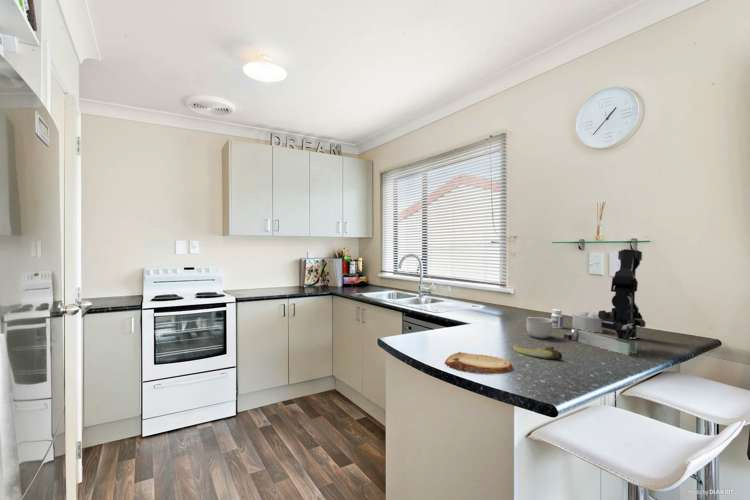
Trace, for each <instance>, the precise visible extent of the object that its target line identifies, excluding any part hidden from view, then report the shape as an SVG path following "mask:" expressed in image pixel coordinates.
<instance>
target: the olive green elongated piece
mask: <svg viewBox="0 0 750 500" xmlns="http://www.w3.org/2000/svg"><path fill="white" fill-rule="evenodd" d="M512 349H513V351H514V352H517V353H518V354H522V355H525V356H529V357H533V358H539V359H545V360H547V359H548V360H562V358H563V354H562V353H561V352H560V351H558V350H556V349H555V347H554V346H551V345H550V346H547V347H543V348H540V349H538V348H537V349H532V348H531V349H530V348H529V349H528V348H524V347H521V346H519V343H516V344H514V345H513V346H512Z"/></svg>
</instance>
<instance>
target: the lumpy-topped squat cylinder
mask: <svg viewBox="0 0 750 500" xmlns="http://www.w3.org/2000/svg"><path fill="white" fill-rule="evenodd" d="M601 322H602V319H600V318H599V317H598V313H597V312H595V311H591V312H588V311H583V310H581V311H577V312H574V313H572V327H573V328H576V329H580V330H585V331H592V332H602V331H603V330H604V328H602V327H601ZM573 328H572V329H573ZM580 330H579V331H580ZM603 332H604V331H603Z"/></svg>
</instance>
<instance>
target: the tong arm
mask: <svg viewBox="0 0 750 500" xmlns="http://www.w3.org/2000/svg"><path fill="white" fill-rule="evenodd" d="M582 331H583V330H582ZM583 332H587V333H591V334H595V335H599V336H603V337H607V338H611V339H615V340H619V341H623V342H627V343H630V352H631V353H630V354H633V353H636V354H637V347H638V346H637V345H638V342H637V341H635V340H630V339H629V340H625V339H621V338H619V337H617V336H616V337H615V336H611V335H607V334H602V333H593V332H588V331H583Z"/></svg>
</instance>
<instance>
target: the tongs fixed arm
mask: <svg viewBox="0 0 750 500" xmlns="http://www.w3.org/2000/svg"><path fill="white" fill-rule="evenodd" d="M564 339H565V340H569V341H570V340H571V342H572V341H573V342H578V343H582V344H586V345H590V346H592V347H593V346H594V347H596V348H599V347H600V349H602V350H606V349H607V350H606V351H610V352H614V353H617V352H618V354H621V353H622V354H621V355H624V354H625V355H624V356H631V353H630V343H627V342H623V341H619V340H615V339H611V338H607V337H603V336H599V335H595V334H591V333H587V332H583V331H580V330H577V329H573V328H571V329H570V332H567V333H563V340H564Z"/></svg>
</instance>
